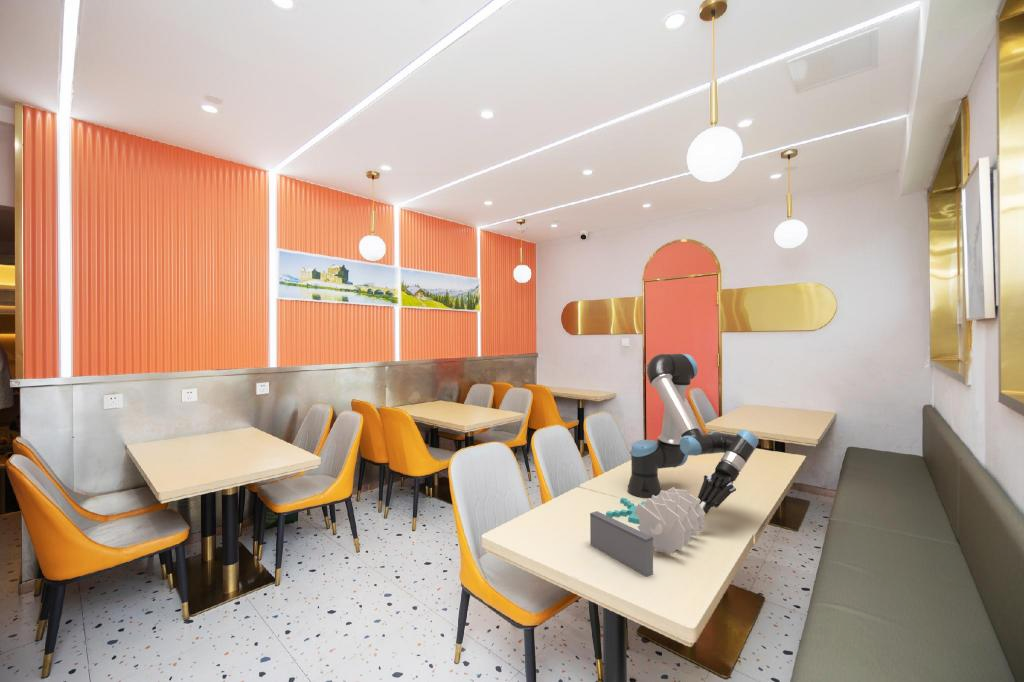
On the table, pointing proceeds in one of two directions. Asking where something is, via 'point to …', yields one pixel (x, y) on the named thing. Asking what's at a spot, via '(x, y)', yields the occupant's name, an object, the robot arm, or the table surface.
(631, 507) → the alien figure
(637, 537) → the slate board
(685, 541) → the spiral staircase
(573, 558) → the table surface
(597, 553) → the table surface
